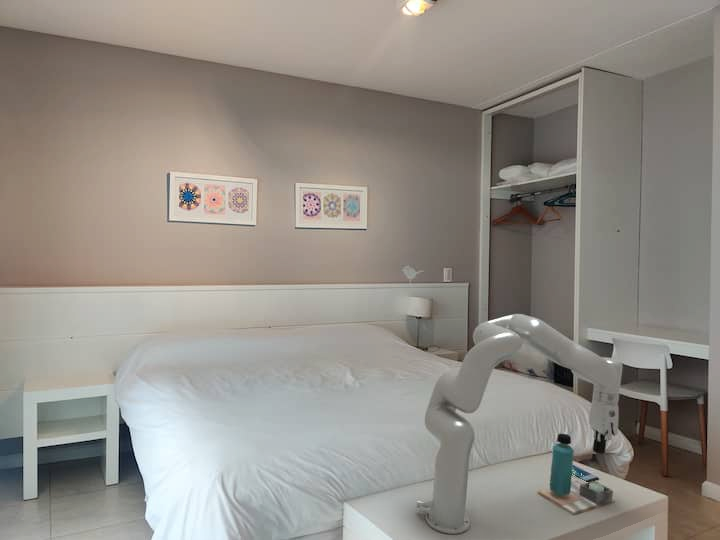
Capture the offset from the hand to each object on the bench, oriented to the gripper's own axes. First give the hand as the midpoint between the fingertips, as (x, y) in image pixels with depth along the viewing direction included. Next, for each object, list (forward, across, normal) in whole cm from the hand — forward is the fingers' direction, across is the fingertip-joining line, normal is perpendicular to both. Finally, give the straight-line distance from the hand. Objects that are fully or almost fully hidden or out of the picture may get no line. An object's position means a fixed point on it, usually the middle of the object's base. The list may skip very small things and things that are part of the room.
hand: (598, 452), depth 166 cm
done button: (+15, 0, -1) cm, 15 cm away
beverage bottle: (+16, 0, +11) cm, 19 cm away
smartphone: (+16, +20, -4) cm, 26 cm away
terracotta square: (+16, 0, +11) cm, 20 cm away
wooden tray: (+16, +1, +5) cm, 17 cm away
